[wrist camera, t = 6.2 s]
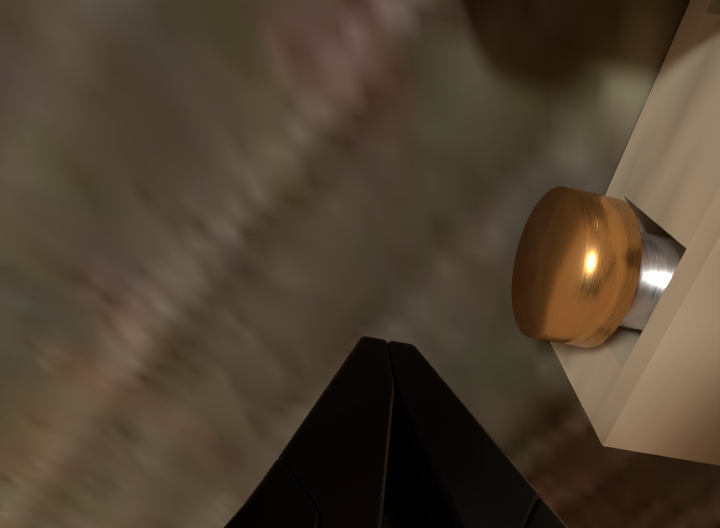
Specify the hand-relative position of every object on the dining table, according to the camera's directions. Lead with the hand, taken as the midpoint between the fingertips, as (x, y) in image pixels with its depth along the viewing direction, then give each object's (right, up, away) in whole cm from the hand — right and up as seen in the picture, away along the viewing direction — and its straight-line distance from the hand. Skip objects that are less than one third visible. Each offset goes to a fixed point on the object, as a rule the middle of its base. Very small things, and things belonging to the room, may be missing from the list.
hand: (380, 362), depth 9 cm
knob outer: (+10, +2, +10) cm, 14 cm away
